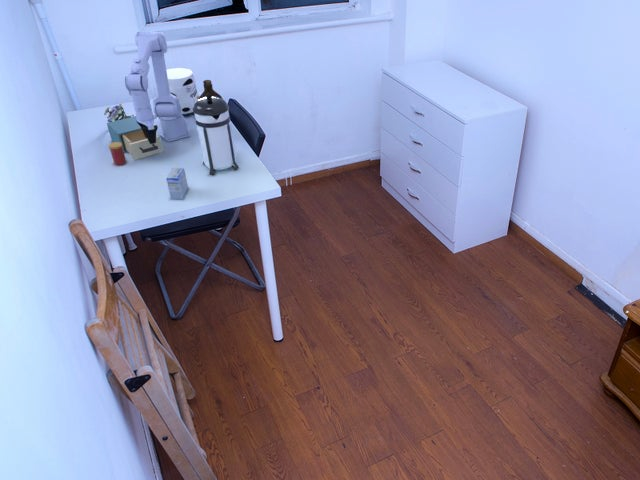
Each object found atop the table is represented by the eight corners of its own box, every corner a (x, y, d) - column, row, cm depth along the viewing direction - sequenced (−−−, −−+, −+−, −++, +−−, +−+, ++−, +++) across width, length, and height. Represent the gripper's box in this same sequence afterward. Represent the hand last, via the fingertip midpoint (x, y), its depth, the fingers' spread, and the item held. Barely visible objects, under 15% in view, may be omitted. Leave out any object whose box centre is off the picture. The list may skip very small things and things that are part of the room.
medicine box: (176, 188, 202) (171, 167, 197) (188, 188, 203) (184, 167, 198) (170, 199, 196) (165, 178, 191) (183, 199, 197) (178, 178, 191)
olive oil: (204, 133, 241) (194, 77, 227) (229, 131, 243) (221, 76, 229) (203, 143, 233) (192, 86, 218) (229, 142, 235) (220, 85, 220)
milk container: (209, 111, 260) (202, 74, 250) (175, 121, 250) (166, 82, 239) (190, 101, 270) (183, 64, 259) (156, 110, 259) (147, 72, 249)
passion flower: (115, 138, 246) (102, 113, 244) (139, 128, 250) (126, 104, 248) (114, 133, 236) (99, 107, 234) (139, 123, 240) (125, 97, 238)
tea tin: (116, 160, 218) (111, 141, 214) (128, 160, 219) (123, 141, 214) (112, 165, 215) (106, 147, 210) (124, 165, 215) (119, 147, 210)
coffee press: (249, 161, 222) (239, 88, 204) (226, 179, 209) (213, 103, 192) (212, 153, 226) (199, 82, 209) (188, 170, 214) (172, 96, 196)
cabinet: (155, 144, 231) (150, 125, 226) (123, 153, 224) (118, 134, 219) (142, 133, 239) (138, 115, 234) (112, 141, 231) (106, 123, 227)
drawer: (167, 155, 221) (164, 140, 218) (138, 163, 215) (134, 148, 211) (151, 141, 231) (147, 126, 227) (122, 148, 225) (118, 133, 221)
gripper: (159, 111, 200) (167, 145, 208) (148, 98, 209) (156, 131, 217) (138, 115, 196) (147, 149, 204) (129, 101, 206) (137, 135, 214)
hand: (150, 140), depth 211 cm, fingers open, 5 cm apart
